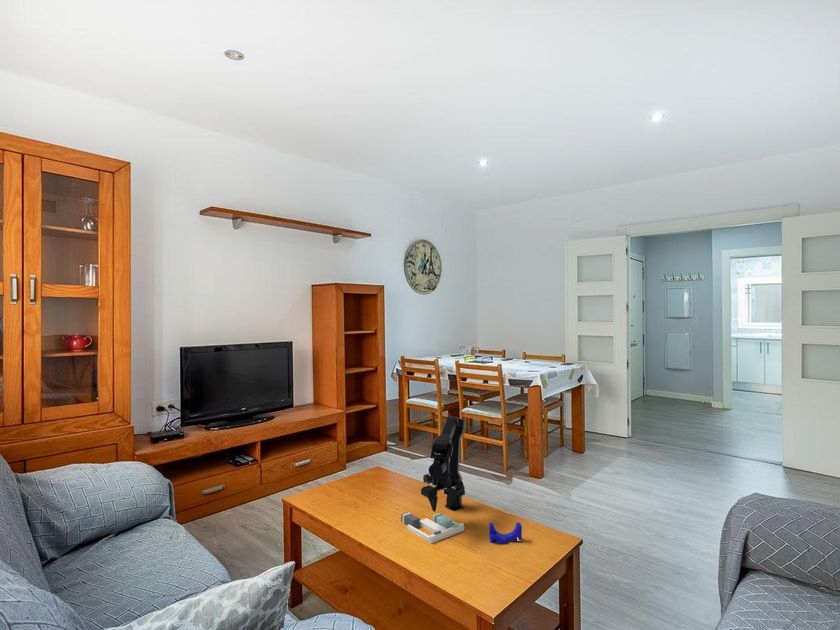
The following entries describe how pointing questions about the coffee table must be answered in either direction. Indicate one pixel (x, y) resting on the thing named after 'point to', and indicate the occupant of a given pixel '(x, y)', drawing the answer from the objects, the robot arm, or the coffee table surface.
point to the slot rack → (436, 530)
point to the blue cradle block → (503, 538)
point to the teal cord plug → (442, 520)
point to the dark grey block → (410, 519)
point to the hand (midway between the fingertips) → (442, 508)
